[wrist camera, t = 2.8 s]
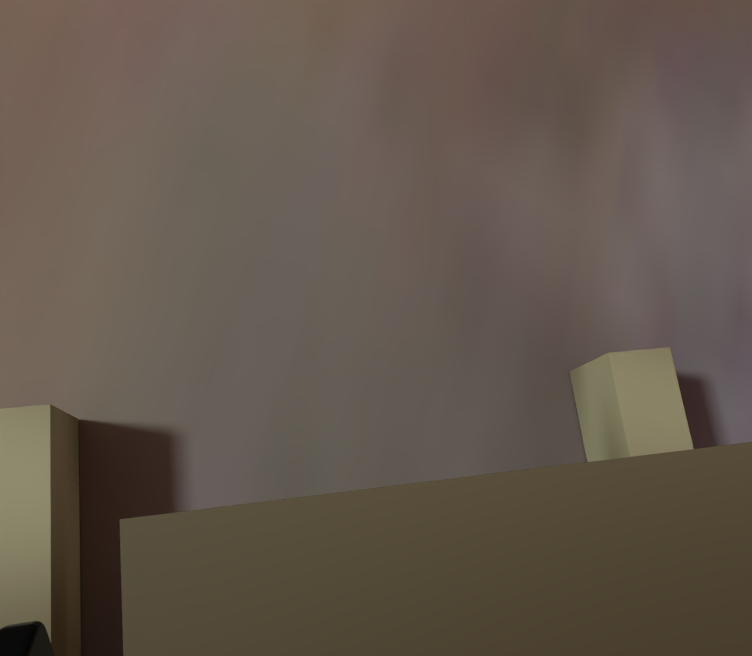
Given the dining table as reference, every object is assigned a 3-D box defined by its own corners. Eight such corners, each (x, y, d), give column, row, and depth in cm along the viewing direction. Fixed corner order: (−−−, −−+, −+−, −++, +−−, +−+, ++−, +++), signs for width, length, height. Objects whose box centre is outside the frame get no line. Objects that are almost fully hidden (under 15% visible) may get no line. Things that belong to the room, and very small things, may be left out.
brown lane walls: (724, 819, 15) (791, 864, 13) (-4, 987, 12) (-55, 1076, 10) (625, 366, 17) (669, 347, 15) (4, 426, 15) (-36, 411, 13)
